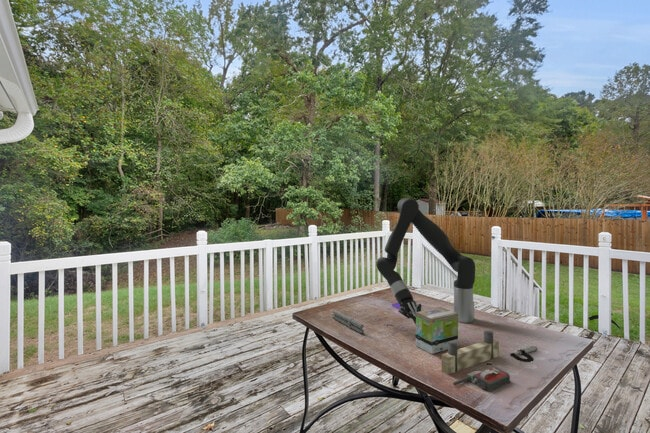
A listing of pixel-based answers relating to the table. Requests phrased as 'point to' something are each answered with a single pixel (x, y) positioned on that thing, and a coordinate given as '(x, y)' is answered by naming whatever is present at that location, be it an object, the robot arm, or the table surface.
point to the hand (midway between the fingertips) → (419, 325)
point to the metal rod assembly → (348, 321)
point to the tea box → (436, 329)
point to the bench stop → (469, 354)
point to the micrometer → (524, 352)
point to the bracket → (396, 305)
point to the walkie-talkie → (487, 378)
